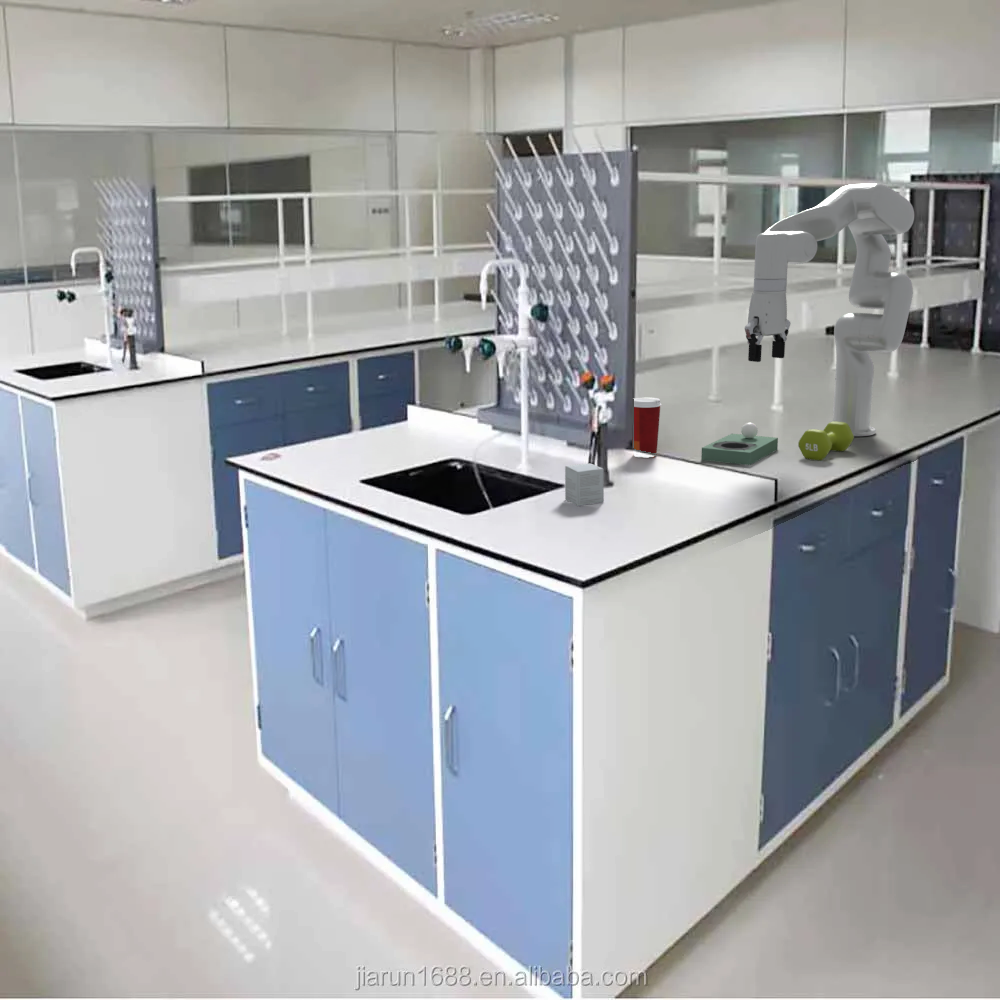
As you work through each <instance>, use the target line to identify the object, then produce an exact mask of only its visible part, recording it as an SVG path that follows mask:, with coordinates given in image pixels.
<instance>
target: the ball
mask: <svg viewBox="0 0 1000 1000" xmlns="http://www.w3.org/2000/svg"><path fill="white" fill-rule="evenodd" d="M758 429H759V428H758V427H757V425H756V424H755V423H753V422H745V423H744V424H743V425H742V427H741V431H740V432H741V433H740V434H742V435H743V436H744V437H745V438H748V439H751V438H753V437H755V436H758V433H759V431H758Z"/></svg>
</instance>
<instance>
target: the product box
mask: <svg viewBox="0 0 1000 1000" xmlns="http://www.w3.org/2000/svg"><path fill="white" fill-rule="evenodd" d="M564 470H565V471H564V472H565V474H564V479H565V480H564V481H565V483H564V484H565V485H564V487H565V489H564V490H565V491H564V492H565V495H564V496H565V500H566V501H567V502H569V503H571V504H572V505H575V506H576V507H581V506H582V507H583V506H588V505H595V504H603V503H604V501H605V500H604V499H605V498H604V496H605V493H604V489H605V487H604V486H605V483H604V481H605V480H604V471H605V469H604V468H603V467H600V466H598V465H596V464H592V463H589V462H588V463H581V464H574V465H565V466H564Z"/></svg>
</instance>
